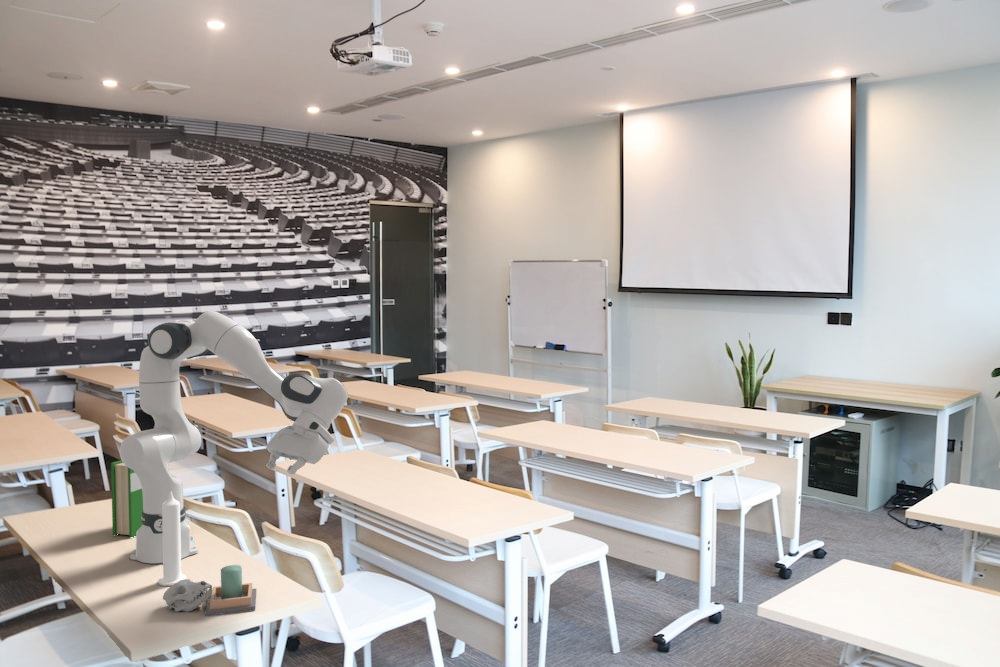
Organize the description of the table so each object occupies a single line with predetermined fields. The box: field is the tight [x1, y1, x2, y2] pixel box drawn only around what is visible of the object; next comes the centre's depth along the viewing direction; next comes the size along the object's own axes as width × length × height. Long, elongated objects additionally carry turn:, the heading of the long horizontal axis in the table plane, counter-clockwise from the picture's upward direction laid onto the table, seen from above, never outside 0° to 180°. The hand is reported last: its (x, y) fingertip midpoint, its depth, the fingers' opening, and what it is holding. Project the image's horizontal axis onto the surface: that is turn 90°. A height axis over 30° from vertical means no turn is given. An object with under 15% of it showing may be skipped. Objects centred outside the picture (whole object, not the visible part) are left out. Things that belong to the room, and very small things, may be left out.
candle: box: [158, 491, 187, 587], centre depth 204 cm, size 7×7×25 cm
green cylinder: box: [220, 564, 243, 599], centre depth 190 cm, size 5×5×8 cm
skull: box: [162, 578, 213, 613], centre depth 187 cm, size 8×9×12 cm
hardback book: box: [110, 460, 143, 538], centre depth 249 cm, size 18×7×24 cm, turn 165°
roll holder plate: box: [204, 582, 257, 616], centre depth 190 cm, size 12×12×3 cm
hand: (279, 470), depth 201 cm, fingers open, 8 cm apart
